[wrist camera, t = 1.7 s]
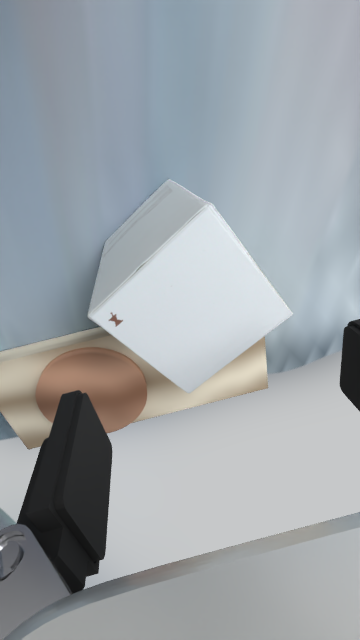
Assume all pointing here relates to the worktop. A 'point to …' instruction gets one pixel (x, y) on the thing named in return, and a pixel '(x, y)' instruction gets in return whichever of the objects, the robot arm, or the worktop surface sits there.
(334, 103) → the worktop surface
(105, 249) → the supplement box
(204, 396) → the board
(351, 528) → the robot arm
